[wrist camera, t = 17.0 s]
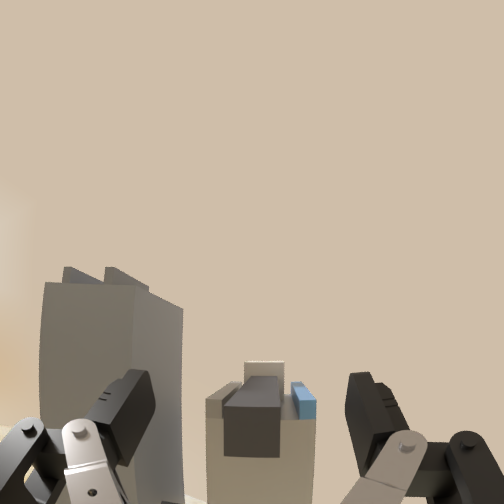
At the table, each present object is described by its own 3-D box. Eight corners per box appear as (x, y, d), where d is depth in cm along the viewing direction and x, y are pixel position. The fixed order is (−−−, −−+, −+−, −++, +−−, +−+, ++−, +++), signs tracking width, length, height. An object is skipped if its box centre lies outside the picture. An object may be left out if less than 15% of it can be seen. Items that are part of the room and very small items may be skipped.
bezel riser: (299, 606, 14) (316, 399, 21) (214, 604, 14) (205, 398, 21) (294, 542, 27) (301, 381, 34) (232, 541, 28) (231, 381, 35)
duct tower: (154, 593, 15) (137, 267, 25) (69, 563, 15) (47, 266, 26) (187, 536, 28) (183, 296, 38) (119, 521, 29) (112, 294, 39)
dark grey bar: (295, 457, 12) (296, 377, 14) (209, 455, 13) (208, 376, 14) (282, 395, 33) (283, 360, 34) (247, 395, 34) (247, 360, 35)
